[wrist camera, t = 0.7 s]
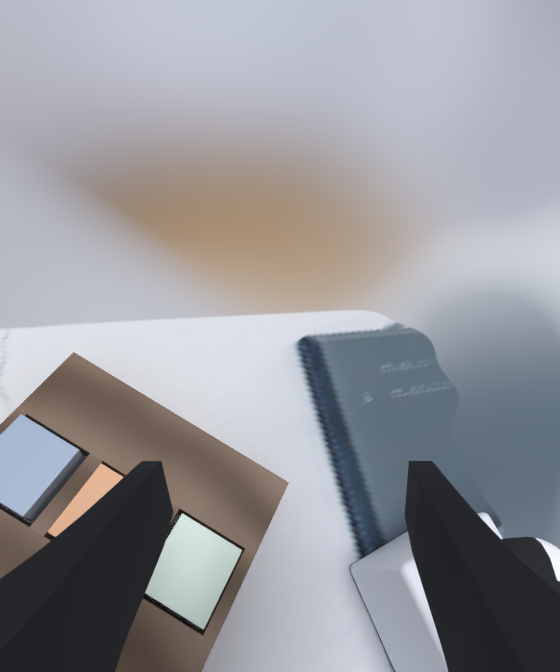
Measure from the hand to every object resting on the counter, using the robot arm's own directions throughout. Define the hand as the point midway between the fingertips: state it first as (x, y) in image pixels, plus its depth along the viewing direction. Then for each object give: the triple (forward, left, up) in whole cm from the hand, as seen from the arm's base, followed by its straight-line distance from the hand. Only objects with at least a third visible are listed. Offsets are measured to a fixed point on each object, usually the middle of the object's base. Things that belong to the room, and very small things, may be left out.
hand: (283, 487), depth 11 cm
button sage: (-3, 0, -16) cm, 16 cm away
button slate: (-3, +11, -16) cm, 19 cm away
